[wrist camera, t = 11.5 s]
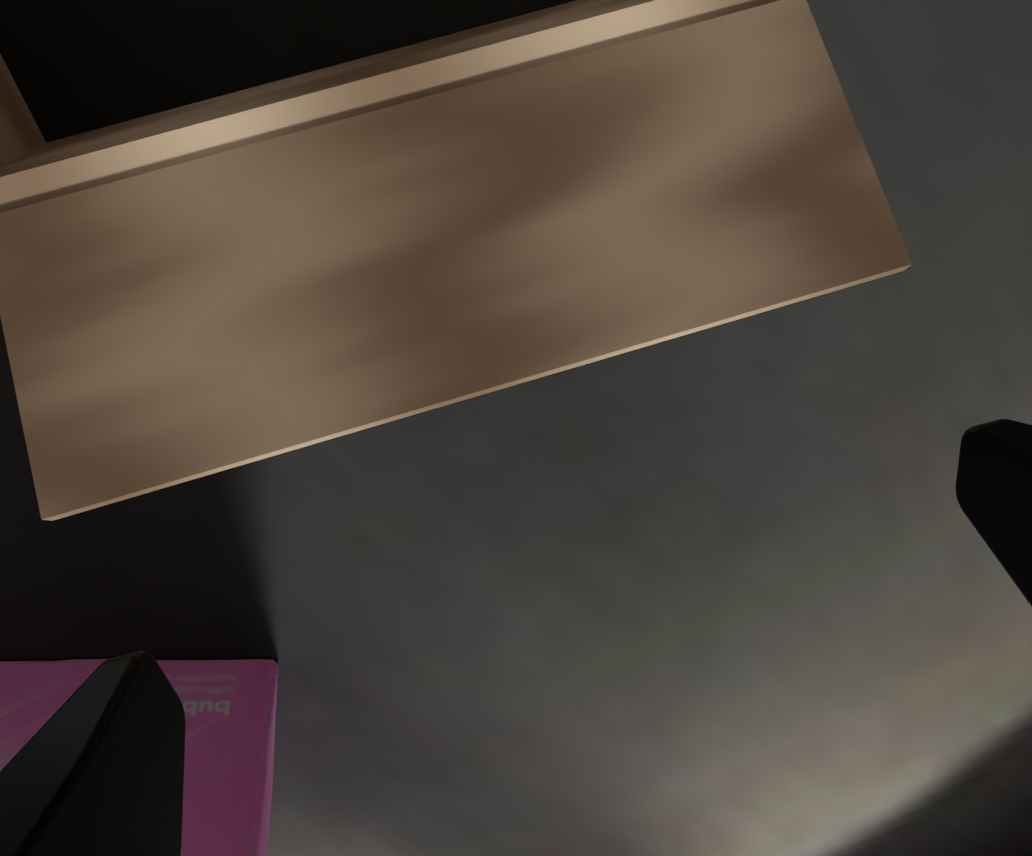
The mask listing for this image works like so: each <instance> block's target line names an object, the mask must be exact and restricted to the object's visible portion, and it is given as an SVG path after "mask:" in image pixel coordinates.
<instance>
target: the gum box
mask: <svg viewBox="0 0 1032 856" xmlns="http://www.w3.org/2000/svg"><path fill="white" fill-rule="evenodd" d="M106 660H108V659H69V660H60V661H0V771H1V770H2V769H3V768H4V767H5V766H6V764H7V763H8V762H9V761H10V760H11V759H12V758H13V757H14V756H15V755H16V754H17V753H18V752H19V751H20V750H21V748H22V747H23V746H24V745H25V744H26V743H27V742H28V741H29V740H30V739H31V738H32V737H33V736H34V735H35V734H36V733H37V731H38V730H39V729H40V728H41V727H42V726H43V725H44V724H45V723H46V722H47V721H48V720H49V719H50V718H51V717H52V715H53V714H54V713H55V712H56V711H57V710H58V709H59V708H60V707H61V706H62V705H63V704H64V703H65V702H66V701H67V699H68V698H69V697H70V696H71V695H72V694H73V693H74V692H75V691H76V690H77V689H78V688H79V687H80V686H81V685H82V683H83V682H84V681H85V680H86V679H87V678H88V677H89V676H90V675H91V674H92V673H93V672H94V671H95V670H96V669H97V667H98V666H99V665H101V664H102V663H103V662H104V661H106ZM156 661H157V662H158V664H159V666H160V667H161V669H162V670H163V672H164V674H165V675H166V677H167V678H168V680H169V682H170V683H171V685H172V687H173V688H174V690H175V691H176V693H177V695H178V696H179V698H180V700H181V702H182V705H183V708H184V712H185V719H186V731H185V761H184V790H183V820H182V846H181V856H267V843H268V831H269V822H270V813H271V801H272V784H273V765H274V745H275V718H276V699H277V680H278V664H277V663H276V662H275V661H274V660H268V659H238V660H156Z"/></svg>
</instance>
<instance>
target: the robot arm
mask: <svg viewBox="0 0 1032 856" xmlns="http://www.w3.org/2000/svg"><path fill="white" fill-rule="evenodd" d="M956 496H957V499H958V502H959V504H960V507H961V508H962V510H963V512H964V513H965V515H966V516H967V517H968V519H969V520H970V521H971V523H972V524H973V526H974V527H975V528H976V530H977V531H978V533H979V534H980V535H981V537H982V538H983V540H984V541H985V542H986V544H987V545H988V547H989V548H990V549H991V551H992V552H993V553H994V555H995V556H996V558H997V559H998V560H999V562H1000V563H1001V565H1002V566H1003V567H1004V569H1005V570H1006V572H1007V573H1008V574H1009V576H1010V577H1011V579H1012V580H1013V581H1014V583H1015V584H1016V586H1017V587H1018V588H1019V590H1020V591H1021V592H1022V594H1023V595H1024V597H1025V598H1026V599H1027V601H1028V602H1029V603H1030V605H1031V606H1032V425H1029V424H1025V423H1021V422H1017V421H1013V420H1008V419H1000V420H995V421H991V422H988V423H984V424H980V425H977V426H973V427H971V428H969V429H968V430H966V431H965V433H964V435H963V436H962V440H961V446H960V455H959V463H958V471H957V479H956ZM185 731H186V719H185V712H184V708H183V705H182V702H181V700H180V698H179V696H178V695H177V693H176V691H175V690H174V688H173V687H172V685H171V683H170V682H169V680H168V678H167V677H166V675H165V674H164V672H163V670H162V669H161V667H160V666H159V664H158V662H157V661H156V659H155V658H154V657H153V655H152V654H150V653H149V652H147V651H142V650H140V651H135V652H132V653H128V654H124V655H120V656H117V657H113V658H110V659H108V660H106V661H104V662H103V663H102V664H101V665H99V666H98V667H97V669H96V670H95V671H94V672H93V673H92V674H91V675H90V676H89V677H88V678H87V679H86V680H85V681H84V682H83V683H82V685H81V686H80V687H79V688H78V689H77V690H76V691H75V692H74V693H73V694H72V695H71V696H70V697H69V698H68V699H67V701H66V702H65V703H64V704H63V705H62V706H61V707H60V708H59V709H58V710H57V711H56V712H55V713H54V714H53V715H52V717H51V718H50V719H49V720H48V721H47V722H46V723H45V724H44V725H43V726H42V727H41V728H40V729H39V730H38V731H37V733H36V734H35V735H34V736H33V737H32V738H31V739H30V740H29V741H28V742H27V743H26V744H25V745H24V746H23V747H22V748H21V750H20V751H19V752H18V753H17V754H16V755H15V756H14V757H13V758H12V759H11V760H10V761H9V762H8V763H7V764H6V766H5V767H4V768H3V769H2V770H1V771H0V856H181V846H182V820H183V790H184V761H185Z"/></svg>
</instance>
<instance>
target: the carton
mask: <svg viewBox="0 0 1032 856" xmlns="http://www.w3.org/2000/svg"><path fill="white" fill-rule="evenodd" d="M911 265H912V261H911V259H910V256H909V254H908V251H907V249H906V246H905V244H904V242H903V239H902V237H901V234H900V232H899V229H898V227H897V224H896V222H895V219H894V217H893V214H892V212H891V209H890V207H889V204H888V202H887V199H886V197H885V194H884V192H883V189H882V187H881V184H880V182H879V179H878V177H877V175H876V172H875V170H874V167H873V165H872V162H871V160H870V157H869V155H868V152H867V150H866V147H865V145H864V142H863V140H862V137H861V135H860V132H859V130H858V127H857V125H856V122H855V120H854V117H853V115H852V113H851V110H850V108H849V105H848V103H847V100H846V98H845V95H844V93H843V90H842V88H841V85H840V83H839V80H838V78H837V75H836V73H835V70H834V68H833V65H832V63H831V60H830V58H829V55H828V53H827V51H826V48H825V46H824V43H823V41H822V38H821V36H820V33H819V31H818V28H817V26H816V23H815V21H814V18H813V16H812V13H811V11H810V8H809V6H808V3H807V1H806V0H576V1H572V2H569V3H565V4H561V5H557V6H554V7H550V8H546V9H543V10H539V11H535V12H531V13H528V14H524V15H520V16H517V17H513V18H509V19H505V20H502V21H498V22H494V23H490V24H487V25H483V26H479V27H476V28H472V29H468V30H464V31H461V32H457V33H453V34H449V35H446V36H442V37H438V38H435V39H431V40H427V41H423V42H420V43H416V44H412V45H409V46H405V47H401V48H397V49H394V50H390V51H386V52H382V53H379V54H375V55H371V56H368V57H364V58H360V59H356V60H353V61H349V62H345V63H341V64H338V65H334V66H330V67H327V68H323V69H319V70H315V71H312V72H308V73H304V74H301V75H297V76H293V77H289V78H286V79H282V80H278V81H274V82H271V83H267V84H263V85H260V86H256V87H252V88H248V89H245V90H241V91H237V92H233V93H230V94H226V95H222V96H219V97H215V98H211V99H207V100H204V101H200V102H196V103H193V104H189V105H185V106H181V107H178V108H174V109H170V110H166V111H163V112H159V113H155V114H152V115H148V116H144V117H140V118H137V119H133V120H129V121H125V122H122V123H118V124H114V125H111V126H107V127H103V128H99V129H96V130H92V131H88V132H85V133H81V134H77V135H73V136H70V137H66V138H62V139H58V140H55V141H51V142H47V143H46V141H45V139H44V138H43V136H42V134H41V132H40V130H39V128H38V126H37V124H36V122H35V120H34V118H33V116H32V114H31V112H30V110H29V108H28V106H27V104H26V103H25V101H24V99H23V97H22V95H21V93H20V91H19V89H18V87H17V85H16V83H15V81H14V79H13V77H12V75H11V73H10V71H9V70H8V68H7V66H6V64H5V62H4V60H3V58H2V56H1V54H0V317H1V322H2V327H3V332H4V337H5V342H6V347H7V352H8V357H9V362H10V367H11V372H12V377H13V382H14V387H15V392H16V397H17V402H18V406H19V411H20V416H21V421H22V426H23V431H24V436H25V441H26V446H27V451H28V456H29V461H30V466H31V471H32V476H33V481H34V486H35V490H36V495H37V500H38V505H39V510H40V515H41V520H50V521H54V520H57V519H61V518H64V517H67V516H71V515H74V514H78V513H81V512H84V511H88V510H91V509H95V508H98V507H101V506H105V505H108V504H112V503H115V502H118V501H122V500H125V499H129V498H132V497H135V496H139V495H142V494H146V493H149V492H152V491H156V490H159V489H163V488H166V487H169V486H173V485H176V484H180V483H183V482H186V481H190V480H193V479H197V478H200V477H203V476H207V475H210V474H214V473H217V472H220V471H224V470H227V469H231V468H234V467H237V466H241V465H244V464H248V463H251V462H254V461H258V460H261V459H265V458H268V457H272V456H275V455H278V454H282V453H285V452H289V451H292V450H295V449H299V448H302V447H306V446H309V445H312V444H316V443H319V442H323V441H326V440H329V439H333V438H336V437H340V436H343V435H346V434H350V433H353V432H357V431H360V430H363V429H367V428H370V427H374V426H377V425H380V424H384V423H387V422H391V421H394V420H397V419H401V418H404V417H408V416H411V415H414V414H418V413H421V412H425V411H428V410H431V409H435V408H438V407H442V406H445V405H448V404H452V403H455V402H459V401H462V400H465V399H469V398H472V397H476V396H479V395H483V394H486V393H489V392H493V391H496V390H500V389H503V388H506V387H510V386H513V385H517V384H520V383H523V382H527V381H530V380H534V379H537V378H540V377H544V376H547V375H551V374H554V373H557V372H561V371H564V370H568V369H571V368H574V367H578V366H581V365H585V364H588V363H591V362H595V361H598V360H602V359H605V358H608V357H612V356H615V355H619V354H622V353H625V352H629V351H632V350H636V349H639V348H642V347H646V346H649V345H653V344H656V343H659V342H663V341H666V340H670V339H673V338H676V337H680V336H683V335H687V334H690V333H693V332H697V331H700V330H704V329H707V328H711V327H714V326H717V325H721V324H724V323H728V322H731V321H734V320H738V319H741V318H745V317H748V316H751V315H755V314H758V313H762V312H765V311H768V310H772V309H775V308H779V307H782V306H785V305H789V304H792V303H796V302H799V301H802V300H806V299H809V298H813V297H816V296H819V295H823V294H826V293H830V292H833V291H836V290H840V289H843V288H847V287H850V286H853V285H857V284H860V283H864V282H867V281H870V280H874V279H877V278H881V277H884V276H887V275H891V274H894V273H898V272H901V271H904V270H905V269H907V268H908V267H909V266H911Z"/></svg>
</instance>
